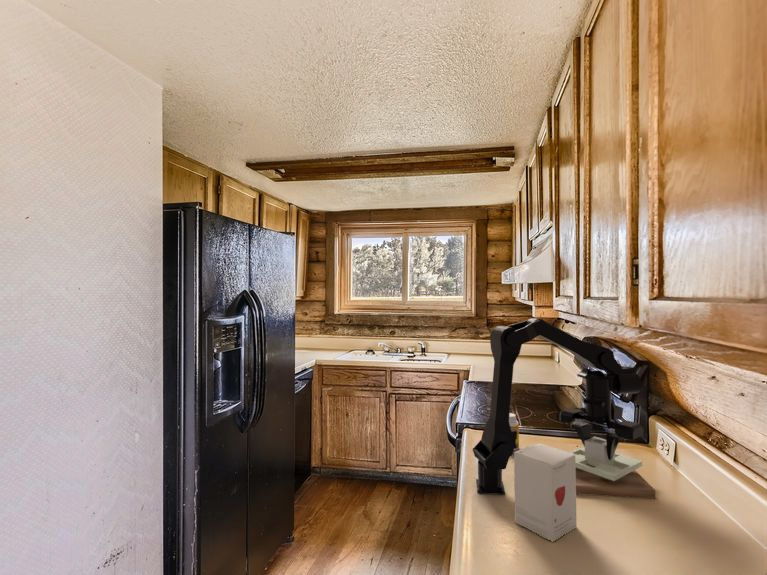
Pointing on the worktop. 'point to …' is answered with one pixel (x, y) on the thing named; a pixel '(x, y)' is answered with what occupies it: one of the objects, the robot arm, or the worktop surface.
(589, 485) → the walnut board
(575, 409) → the robot arm
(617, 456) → the flange plate
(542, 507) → the supplement box
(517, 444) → the supplement bottle
